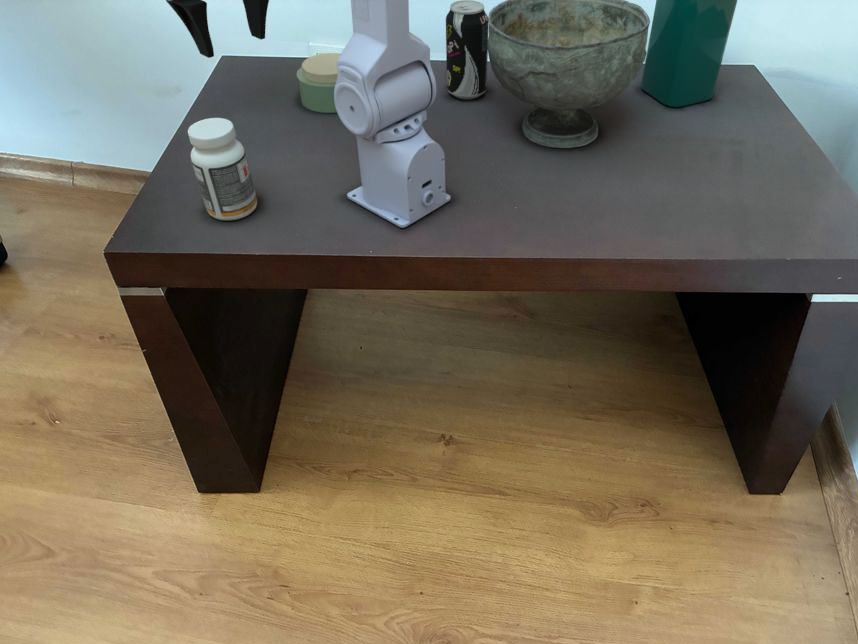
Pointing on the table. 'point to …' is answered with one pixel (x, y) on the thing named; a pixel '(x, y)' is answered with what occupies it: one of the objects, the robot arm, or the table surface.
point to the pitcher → (686, 49)
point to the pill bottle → (221, 169)
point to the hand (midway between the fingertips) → (233, 45)
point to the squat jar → (318, 82)
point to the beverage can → (466, 49)
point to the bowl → (566, 61)
